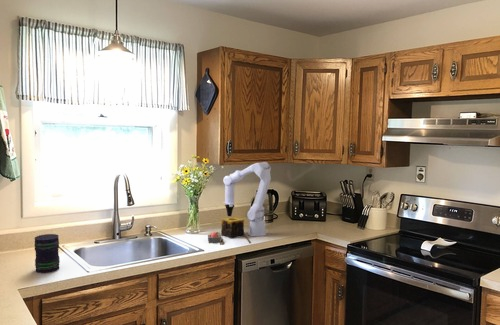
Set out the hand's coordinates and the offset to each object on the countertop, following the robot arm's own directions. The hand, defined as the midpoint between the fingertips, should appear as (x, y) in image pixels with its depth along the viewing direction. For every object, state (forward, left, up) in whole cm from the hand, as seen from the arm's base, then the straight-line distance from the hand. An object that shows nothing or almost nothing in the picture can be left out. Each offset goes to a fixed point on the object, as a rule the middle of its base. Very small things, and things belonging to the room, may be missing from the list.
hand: (229, 216), depth 262 cm
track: (0, +20, -9) cm, 22 cm away
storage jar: (+90, +61, -9) cm, 109 cm away
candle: (0, +14, -9) cm, 17 cm away
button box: (+12, +25, -9) cm, 29 cm away
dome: (+12, +25, -9) cm, 29 cm away
